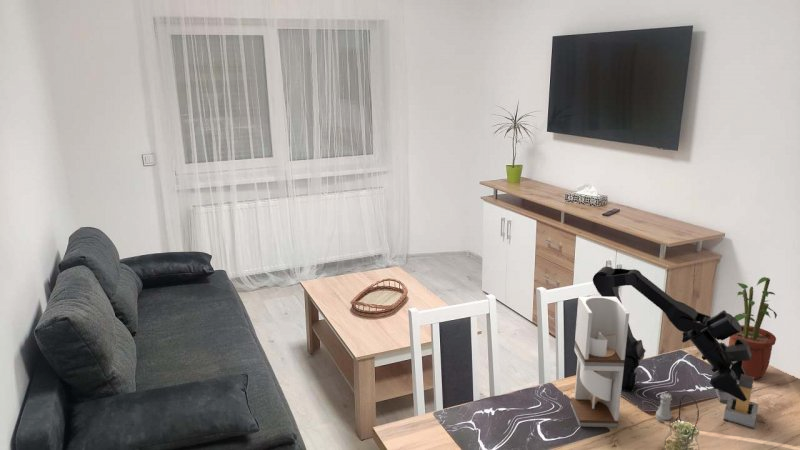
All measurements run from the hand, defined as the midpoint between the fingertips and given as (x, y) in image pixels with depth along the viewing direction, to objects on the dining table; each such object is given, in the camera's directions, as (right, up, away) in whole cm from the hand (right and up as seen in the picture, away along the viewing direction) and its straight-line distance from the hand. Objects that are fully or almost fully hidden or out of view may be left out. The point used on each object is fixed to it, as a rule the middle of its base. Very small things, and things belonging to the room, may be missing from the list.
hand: (747, 393), depth 161 cm
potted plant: (+14, -2, +28) cm, 32 cm away
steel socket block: (0, -9, +3) cm, 9 cm away
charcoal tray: (+2, -6, +13) cm, 14 cm away
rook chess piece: (-22, -9, +4) cm, 24 cm away
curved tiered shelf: (-41, -9, +6) cm, 43 cm away
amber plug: (0, -7, +2) cm, 8 cm away
